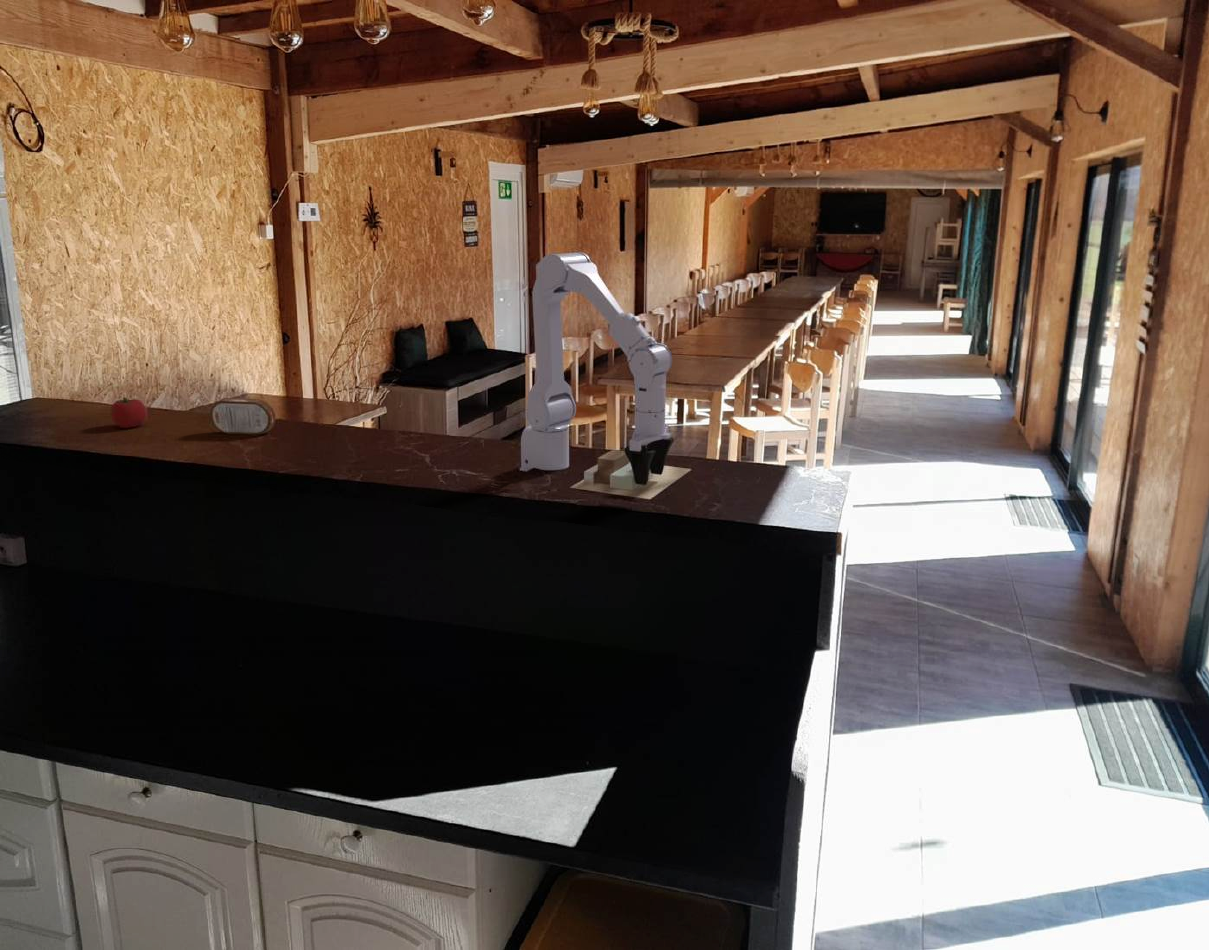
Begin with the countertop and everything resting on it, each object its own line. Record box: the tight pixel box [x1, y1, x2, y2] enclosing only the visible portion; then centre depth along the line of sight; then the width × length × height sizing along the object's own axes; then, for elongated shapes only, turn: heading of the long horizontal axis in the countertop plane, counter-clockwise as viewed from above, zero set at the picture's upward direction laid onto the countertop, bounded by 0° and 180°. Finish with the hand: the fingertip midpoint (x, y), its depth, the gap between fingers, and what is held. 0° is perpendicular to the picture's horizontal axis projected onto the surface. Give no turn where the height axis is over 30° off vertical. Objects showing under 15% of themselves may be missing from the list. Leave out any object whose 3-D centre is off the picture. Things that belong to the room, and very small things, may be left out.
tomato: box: [110, 396, 148, 429], centre depth 228 cm, size 8×8×7 cm
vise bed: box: [569, 462, 692, 502], centre depth 185 cm, size 16×22×1 cm
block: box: [597, 449, 629, 485], centre depth 183 cm, size 4×7×5 cm, turn 155°
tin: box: [210, 397, 276, 436], centre depth 221 cm, size 15×3×8 cm, turn 84°
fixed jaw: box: [583, 463, 598, 486], centre depth 185 cm, size 2×10×2 cm, turn 155°
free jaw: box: [610, 463, 653, 491], centre depth 182 cm, size 5×10×2 cm, turn 155°
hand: (649, 478), depth 180 cm, fingers open, 7 cm apart
